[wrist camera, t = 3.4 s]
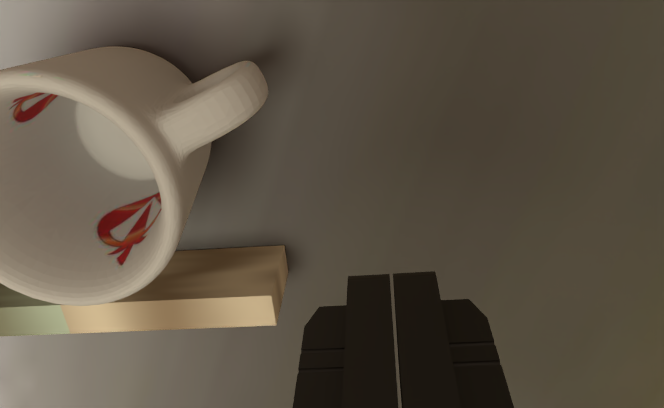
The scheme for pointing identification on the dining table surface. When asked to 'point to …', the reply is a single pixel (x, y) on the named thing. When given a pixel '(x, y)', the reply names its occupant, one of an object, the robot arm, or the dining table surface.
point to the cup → (106, 167)
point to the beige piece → (169, 297)
